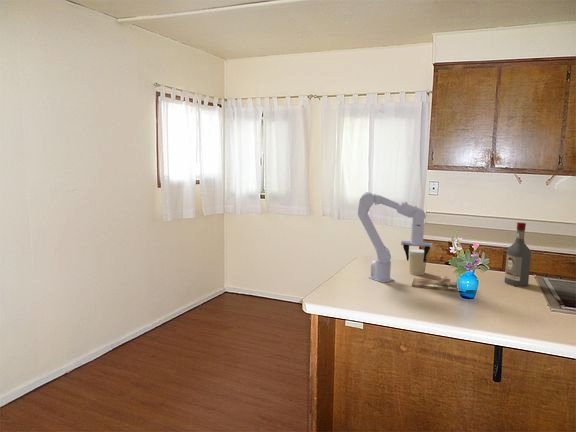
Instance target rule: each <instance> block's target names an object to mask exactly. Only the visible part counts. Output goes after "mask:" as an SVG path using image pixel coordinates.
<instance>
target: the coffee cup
mask: <svg viewBox="0 0 576 432" xmlns="http://www.w3.org/2000/svg"><path fill="white" fill-rule="evenodd" d="M427 256H428V255H427ZM427 256H426V259H425V262H423V259H424V249H422V248H421V249H420V248H411V249H409V260H408V271H409V273H408V274H410V275H414V276H423V275H425V272H426V266H427V258H428V257H427Z"/></svg>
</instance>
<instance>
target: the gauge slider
mask: <svg viewBox="0 0 576 432" xmlns="http://www.w3.org/2000/svg"><path fill="white" fill-rule="evenodd" d="M440 281H441V285H445V286H446V285H447V286H450V282H451V276H448V275H447V276H446V275H441V278H440Z"/></svg>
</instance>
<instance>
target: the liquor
mask: <svg viewBox="0 0 576 432" xmlns="http://www.w3.org/2000/svg"><path fill="white" fill-rule="evenodd" d="M526 226H527V225H526V222H516V234H515V235H516V237H515V240H514V241H515V242H514V243H512V244H511V245H509V247H508V248H507V250H506V259H505V271H504V283H505V284H506V283H507V285H509V284H510V285H509V286H512V285H513V287H517V286H522V287H528V285H529V279H530V270H531V269H530V268H531V257H532V252H531V249H530V248H529V247H528V246H527V244H526V242H525V232H526V231H525V230H526Z"/></svg>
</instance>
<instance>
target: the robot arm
mask: <svg viewBox="0 0 576 432" xmlns="http://www.w3.org/2000/svg"><path fill="white" fill-rule="evenodd" d="M373 205H383V206H385V207H386V206H387V207H389V208H392V209H395V210H396V212H397V213H398V214H399V215H401V216H405V217H408V218H410V219H411V218H412V223H411V234H410V235H411V236H410V240H401V242H400V243H401V244H400V245H401V246H402V248H403V250H404V253H405V256H406V261H408V262H409V250H410V246H411V247H421V248H423V250H424V259H423V262H425V259H426V256H428V253H429V251H430V249H433V248H434V247H433V243H432V242H425V241H424V235H425V234H424V233H425V231H424V230H425V219H426V217H427V215H426V213H425V211H424V210H423V209H422V208H420V207H418V206H417V205H414V206H413V205H412V204H409V203H408V202H407V201H402V202H397V201H394V200H393V199H390V198H387V197H385V196H383V195H380V194H376V193H371V192H370V191H369V192H368V191H366V192H364V193H362V195H361V197H360V198H359V203H358V208H357V216H358V218H359V220H360V221H361V224H362V226H363V228H364V230H365V231H366V234H367V236H368V237H369V239H370V241H371V243H372V246H373V247H374V250H375V251H376V256H377V257H376V259H375V260H373V261H372V262H371V264H370V276H369V277H368V278H369V279H372V280H374V281H377V282H380V283H385V282H386V283H387V282H391V281H394V280H395V279H394V278H391V267H392V261H391V257H392V256H391V252H390V250H389V248H388V247H386V246H385V244H384V242H383V241H382V238H381V237H380V234H379V232H378V231H377V228H376V227H375V225H374V223H373V222H372V218H371V217H370V215H369V211H370V209H371V208H372V206H373ZM426 260H427V259H426Z"/></svg>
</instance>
